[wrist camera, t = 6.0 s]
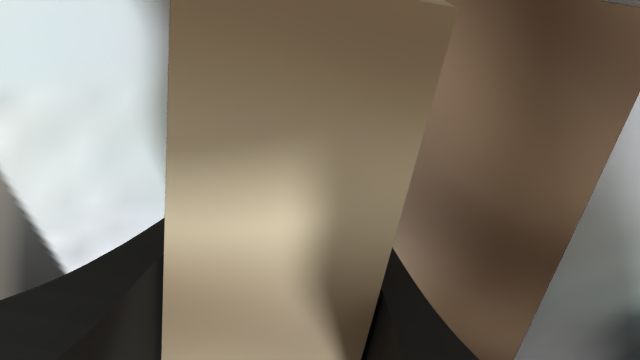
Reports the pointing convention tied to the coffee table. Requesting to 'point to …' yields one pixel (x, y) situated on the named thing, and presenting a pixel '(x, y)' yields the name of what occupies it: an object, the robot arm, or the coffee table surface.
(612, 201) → the coffee table surface
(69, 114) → the coffee table surface
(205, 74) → the beech bar
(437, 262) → the board
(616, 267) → the coffee table surface
